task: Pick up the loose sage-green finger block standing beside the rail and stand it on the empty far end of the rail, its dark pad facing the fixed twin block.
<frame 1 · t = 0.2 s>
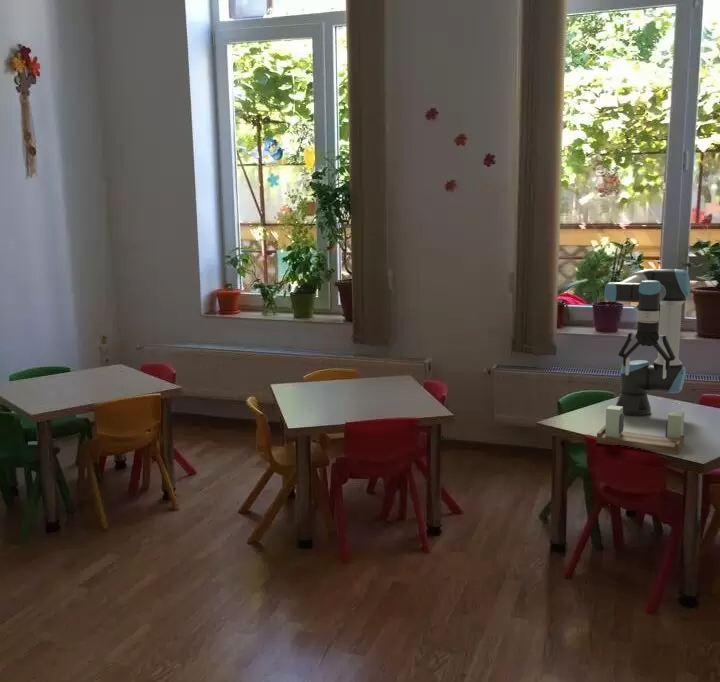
hand: (645, 376, 289), 27 cm above the table, fingers open, 13 cm apart
rail: (639, 444, 293), on the table
fixed block: (613, 434, 298), resting on rail
finger block: (674, 440, 297), on the table
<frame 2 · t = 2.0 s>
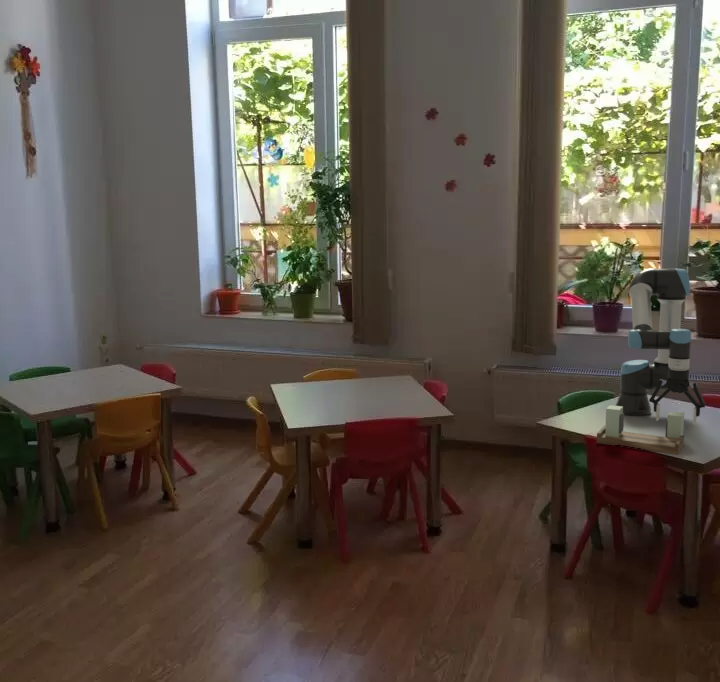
hand: (675, 422, 295), 8 cm above the table, fingers open, 13 cm apart
nothing on the table moved.
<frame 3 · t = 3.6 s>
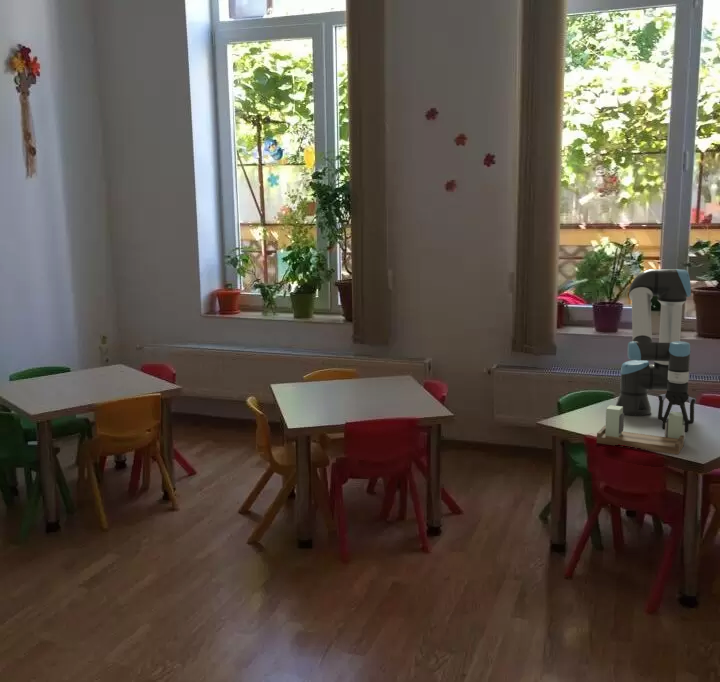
hand: (674, 438, 297), 1 cm above the table, fingers closed on finger block, 6 cm apart
finger block: (675, 440, 297), on the table, touching gripper
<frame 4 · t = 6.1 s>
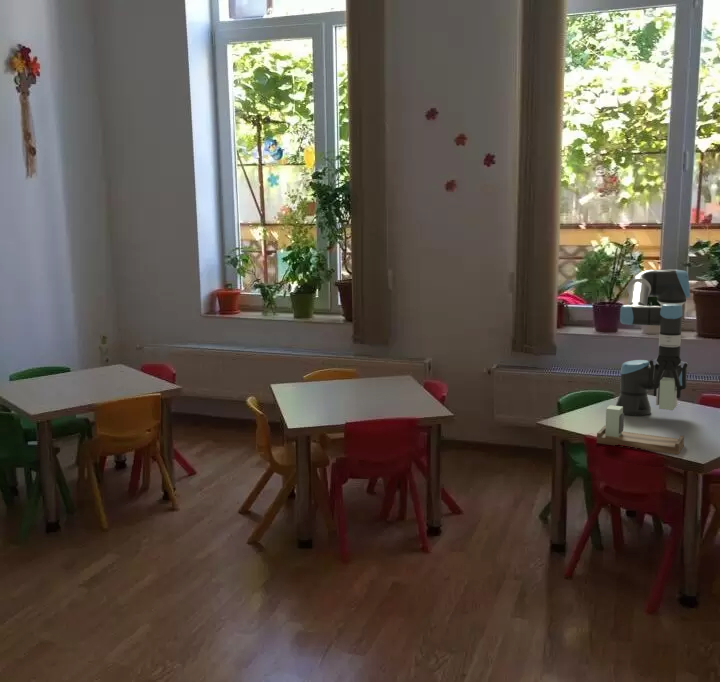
hand: (666, 405, 286), 17 cm above the table, fingers closed on finger block, 6 cm apart
finger block: (667, 407, 286), point 16 cm above the table, touching gripper
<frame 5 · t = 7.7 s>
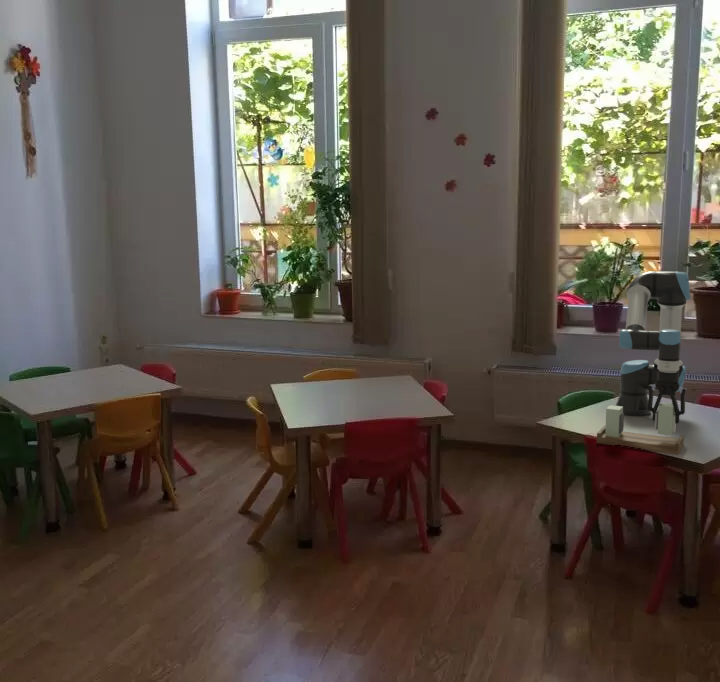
hand: (665, 430, 288), 7 cm above the table, fingers closed on finger block, 6 cm apart
finger block: (665, 432, 288), point 6 cm above the table, touching gripper
when the fingers open (5 cm above the table, at t = 8.9 s): finger block drops 1 cm, resting on rail.
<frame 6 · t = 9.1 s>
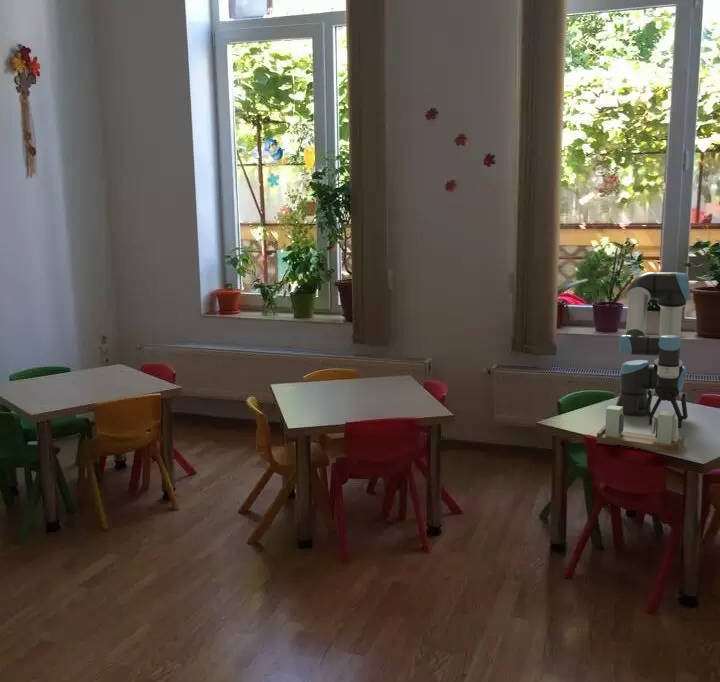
hand: (664, 434, 288), 5 cm above the table, fingers open, 8 cm apart
finger block: (665, 441, 288), point 3 cm above the table, touching rail
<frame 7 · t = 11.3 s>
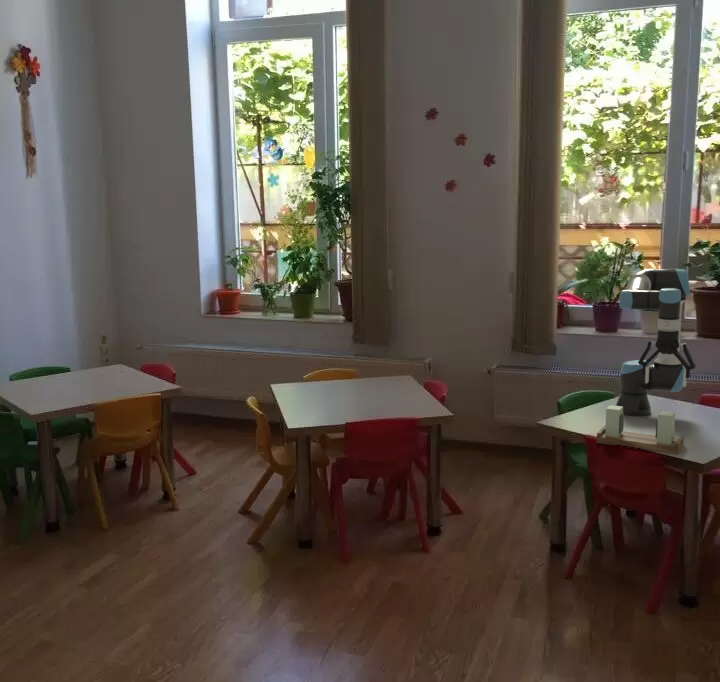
hand: (665, 384, 288), 24 cm above the table, fingers open, 13 cm apart
nothing on the table moved.
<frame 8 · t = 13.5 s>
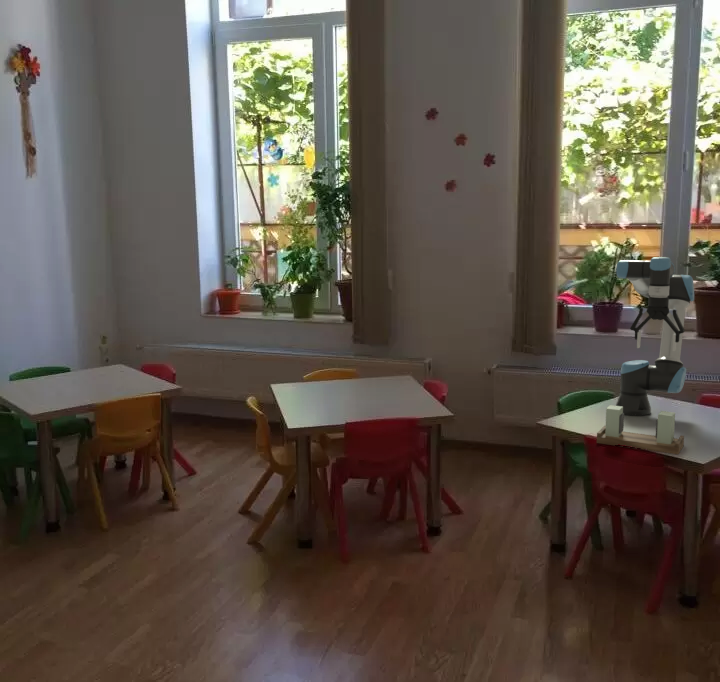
hand: (656, 349, 303), 35 cm above the table, fingers open, 13 cm apart
nothing on the table moved.
at the end: finger block inside the target area on the rail (1.0 cm from its centre), point 2.5 cm above the rail's base; finger block tilted 0°; the gripper is holding nothing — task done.
